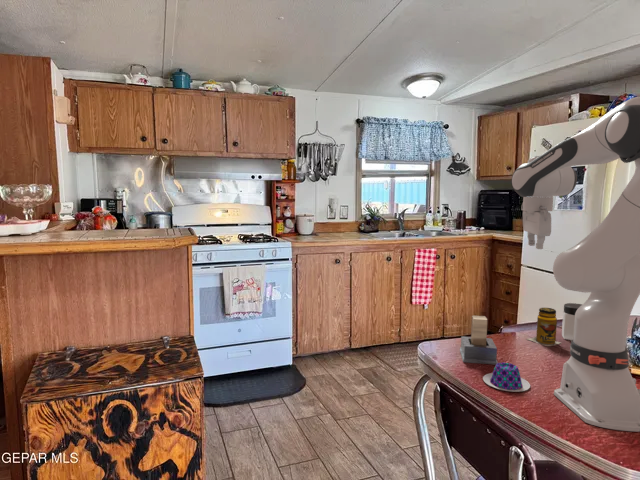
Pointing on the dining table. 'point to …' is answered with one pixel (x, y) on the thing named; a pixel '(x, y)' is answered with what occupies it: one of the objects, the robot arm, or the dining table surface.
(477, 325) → the wooden peg
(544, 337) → the condiment
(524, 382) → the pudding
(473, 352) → the socket holder
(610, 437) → the dining table surface
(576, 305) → the jar
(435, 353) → the dining table surface
